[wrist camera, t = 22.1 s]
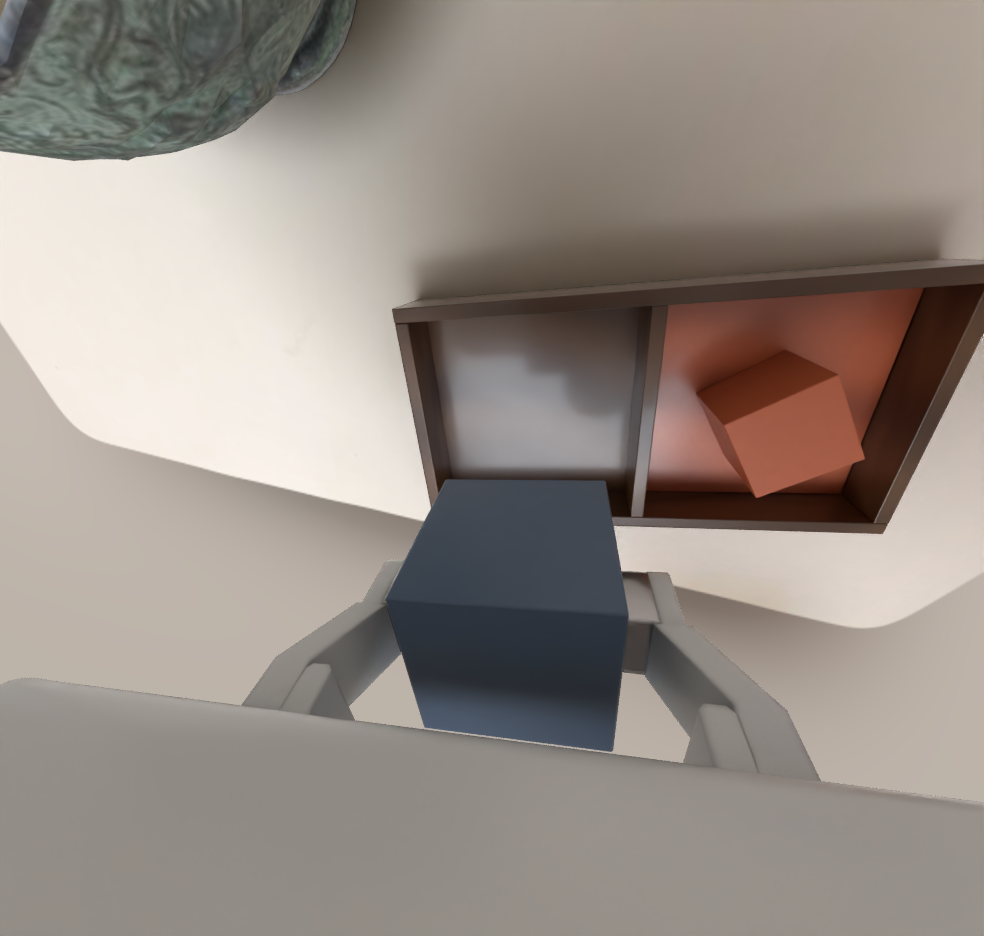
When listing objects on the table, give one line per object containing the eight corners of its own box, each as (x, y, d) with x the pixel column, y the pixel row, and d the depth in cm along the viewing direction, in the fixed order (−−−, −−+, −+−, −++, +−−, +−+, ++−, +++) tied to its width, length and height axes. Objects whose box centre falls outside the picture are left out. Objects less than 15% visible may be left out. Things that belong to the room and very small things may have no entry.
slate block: (605, 480, 11) (629, 615, 7) (598, 598, 13) (613, 753, 9) (445, 478, 11) (383, 598, 7) (463, 590, 13) (423, 728, 10)
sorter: (415, 300, 22) (391, 309, 19) (940, 258, 18) (1020, 261, 15) (447, 490, 28) (433, 520, 25) (842, 497, 24) (883, 534, 21)
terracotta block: (786, 349, 20) (839, 373, 16) (811, 420, 21) (866, 459, 17) (695, 393, 21) (723, 425, 18) (724, 456, 23) (756, 499, 19)
